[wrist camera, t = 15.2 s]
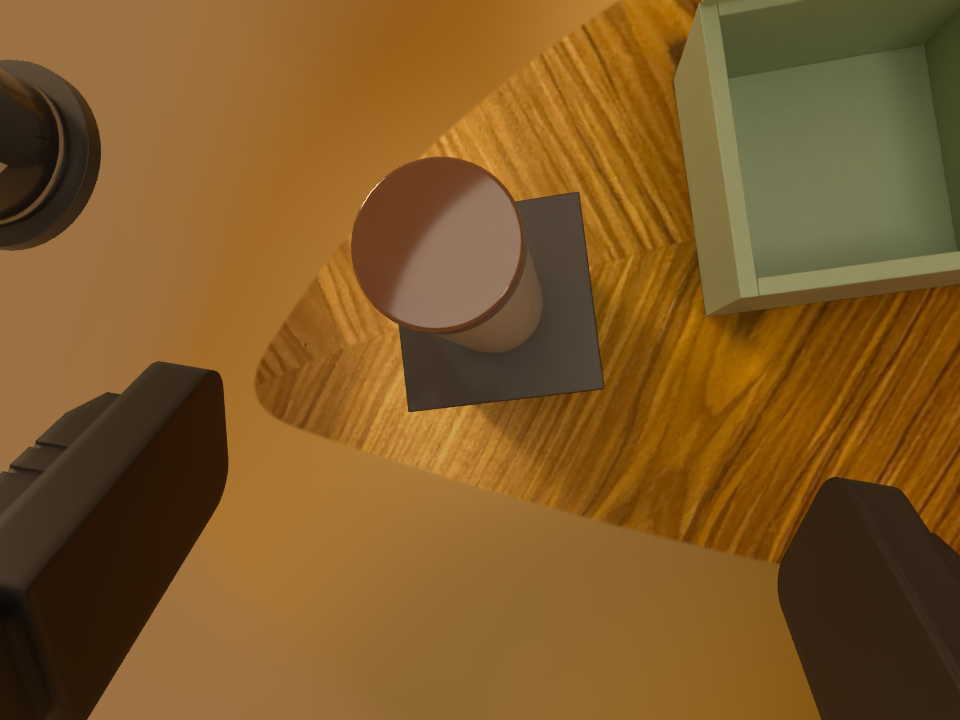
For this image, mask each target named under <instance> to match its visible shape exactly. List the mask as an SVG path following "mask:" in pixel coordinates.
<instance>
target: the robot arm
mask: <svg viewBox="0 0 960 720" xmlns="http://www.w3.org/2000/svg"><path fill="white" fill-rule="evenodd" d="M68 159H69V135H68V130H67V125H66V122H65V119H64V117H63V115H62V113H61V111H60V109H59V107H58V106H57V104H56V103H55V102H54V100H53V99H52V98H51V97H50V96H49V95H48V94H47V93H46V92H45V91H43V90H42V89H40V88H39V87H37V86H35V85H34V84H32V83H30V82H28V81H26V80H25V79H22V78H20V77H17V76H14V75H12V74H10V73H8V72H7V71H5V70H3V69H1V68H0V227H2V226H9V225H13V224H17V223H20V222H22V221H24V220H26V219H28V218H30V217H32V216H33V215H35V214H36V213H37V212H39V211H40V210H41V209H42V208H43V207H44V206H45V205H46V204H47V203H48V202H49V201H50V200H51V199H52V197H53V196H54V194H55V193H56V191H57V190H58V188H59V186H60V184H61V182H62V180H63V178H64V175H65V172H66V169H67V164H68ZM227 474H228V448H227V434H226V421H225V405H224V392H223V382H222V379H221V376H220V374H219V373H218V372H217V371H214V370H208V369H202V368H196V367H190V366H184V365H178V364H172V363H166V362H160V361H158V362H155V363H153V364H151V365H150V366H149V367H148V368H147V369H146V370H145V371H144V372H143V373H142V374H141V375H140V376H139V377H138V378H137V379H136V380H135V381H134V382H133V383H132V384H131V385H130V386H129V387H128V388H127V389H126V390H125V391H124V392H123V393H122V394H115V393H109V392H107V393H105V394H103V395H101V396H99V397H97V398H95V399H93V400H91V401H89V402H87V403H85V404H83V405H81V406H79V407H77V408H75V409H73V410H71V411H69V412H67V413H65V414H64V415H63V416H62V417H61V418H60V419H59V420H58V421H57V422H55V423H54V424H53V425H52V426H51V427H50V428H49V429H48V430H47V431H46V432H45V433H44V434H43V435H42V436H41V437H39V438H38V439H37V440H36V444H35V446H34V447H29V448H27V449H26V450H25V451H24V452H23V453H22V454H21V455H20V456H19V457H18V458H17V459H16V460H15V461H14V462H12V463H11V464H10V468H9V471H8V472H4V471H3V472H2V473H1V474H0V720H87V719H88V717H89V716H90V714H91V712H92V711H93V709H94V707H95V706H96V704H97V703H98V701H99V699H100V697H101V696H102V694H103V693H104V691H105V689H106V688H107V686H108V684H109V683H110V681H111V680H112V678H113V676H114V675H115V673H116V671H117V670H118V668H119V667H120V665H121V663H122V662H123V660H124V658H125V657H126V655H127V653H128V652H129V650H130V648H131V647H132V645H133V644H134V642H135V640H136V639H137V637H138V636H139V634H140V632H141V631H142V629H143V627H144V626H145V624H146V622H147V621H148V619H149V618H150V616H151V614H152V613H153V611H154V609H155V608H156V606H157V604H158V603H159V601H160V600H161V598H162V596H163V595H164V593H165V591H166V590H167V588H168V586H169V585H170V583H171V582H172V580H173V578H174V577H175V575H176V573H177V572H178V570H179V568H180V567H181V565H182V564H183V562H184V560H185V559H186V557H187V555H188V554H189V552H190V550H191V549H192V547H193V545H194V544H195V542H196V541H197V539H198V537H199V536H200V534H201V533H202V531H203V529H204V528H205V526H206V524H207V523H208V521H209V519H210V518H211V516H212V515H213V513H214V511H215V509H216V508H217V506H218V504H219V502H220V500H221V496H222V494H223V491H224V488H225V484H226V480H227ZM778 595H779V601H780V605H781V608H782V611H783V614H784V617H785V619H786V622H787V625H788V628H789V630H790V633H791V636H792V639H793V642H794V644H795V647H796V650H797V653H798V655H799V658H800V661H801V664H802V666H803V669H804V672H805V675H806V678H807V681H808V683H809V686H810V689H811V692H812V694H813V697H814V700H815V703H816V706H817V708H818V711H819V714H820V717H821V719H822V720H960V555H959V554H958V553H956V552H955V551H954V550H953V549H952V548H951V547H950V546H949V545H947V544H946V543H945V542H944V541H943V540H942V539H941V538H940V537H939V536H937V535H936V534H934V533H930V531H929V530H928V528H927V527H926V525H925V524H924V522H923V521H922V519H921V518H920V516H919V515H918V513H917V512H916V510H915V509H914V508H913V506H912V505H911V503H910V502H909V500H908V499H907V497H906V496H905V495H904V493H903V492H902V491H901V490H899V489H898V488H896V487H892V486H886V485H880V484H874V483H868V482H863V481H857V480H851V479H845V478H839V477H832V478H830V479H828V480H827V481H825V482H824V484H823V485H822V486H821V488H820V489H819V491H818V493H817V494H816V496H815V498H814V500H813V502H812V504H811V506H810V508H809V509H808V511H807V513H806V515H805V517H804V519H803V521H802V522H801V524H800V526H799V528H798V530H797V532H796V534H795V535H794V537H793V539H792V541H791V543H790V545H789V547H788V549H787V550H786V552H785V554H784V556H783V558H782V561H781V564H780V568H779V574H778Z"/></svg>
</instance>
